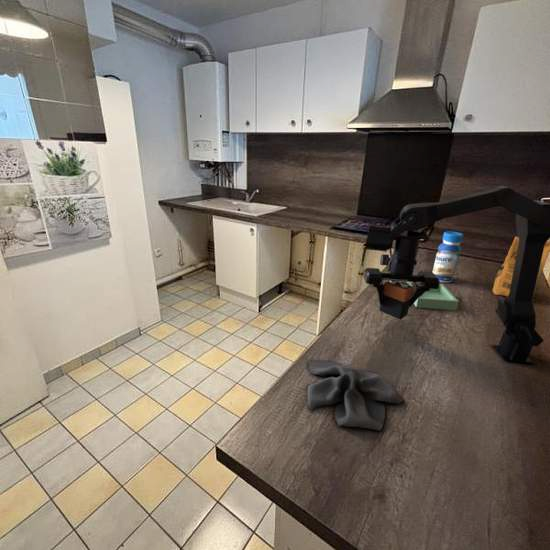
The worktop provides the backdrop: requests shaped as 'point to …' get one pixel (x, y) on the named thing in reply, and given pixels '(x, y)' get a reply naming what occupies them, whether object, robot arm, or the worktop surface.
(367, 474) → the worktop surface
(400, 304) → the battery
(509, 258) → the coffee package
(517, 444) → the worktop surface
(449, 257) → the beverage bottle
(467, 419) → the worktop surface
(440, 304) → the tray
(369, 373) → the cloth
